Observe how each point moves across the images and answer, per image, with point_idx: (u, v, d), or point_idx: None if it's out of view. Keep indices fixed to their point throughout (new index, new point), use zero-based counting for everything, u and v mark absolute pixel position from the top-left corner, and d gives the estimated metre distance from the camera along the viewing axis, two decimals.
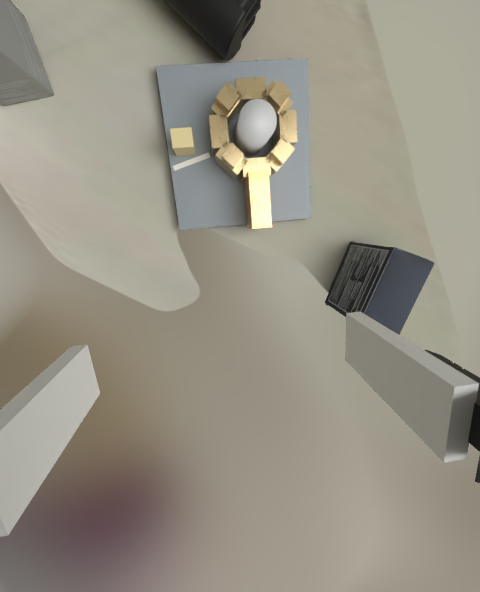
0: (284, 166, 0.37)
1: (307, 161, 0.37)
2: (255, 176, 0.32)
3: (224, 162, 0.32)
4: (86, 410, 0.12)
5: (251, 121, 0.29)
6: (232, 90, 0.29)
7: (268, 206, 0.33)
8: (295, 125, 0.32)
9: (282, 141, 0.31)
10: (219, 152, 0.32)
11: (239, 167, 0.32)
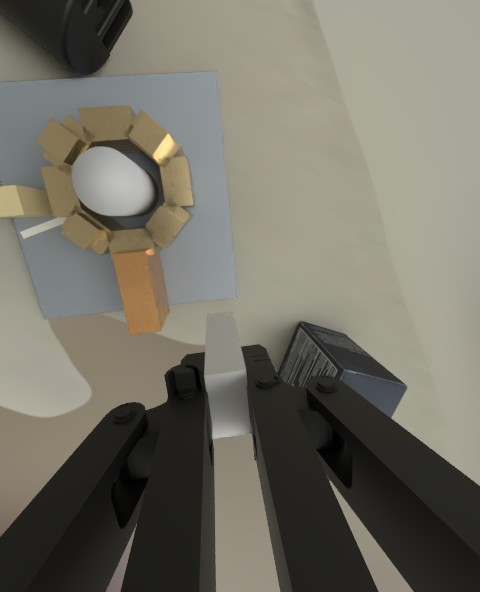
0: (193, 228, 0.25)
1: (227, 221, 0.25)
2: (125, 260, 0.20)
3: None
4: None
5: (94, 183, 0.17)
6: (64, 130, 0.17)
7: (151, 303, 0.21)
8: (187, 180, 0.20)
9: (161, 209, 0.19)
10: (66, 223, 0.20)
11: (103, 245, 0.21)
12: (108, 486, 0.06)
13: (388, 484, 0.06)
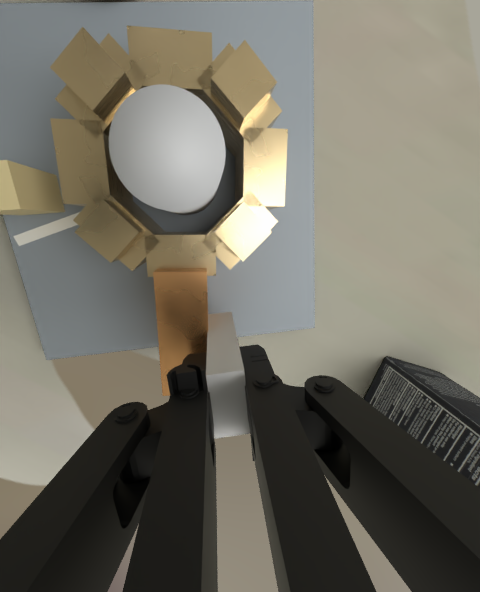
0: None
1: (309, 224, 0.18)
2: (172, 284, 0.13)
3: None
4: None
5: (148, 153, 0.10)
6: (102, 53, 0.10)
7: (203, 351, 0.14)
8: (282, 167, 0.13)
9: (244, 208, 0.12)
10: (83, 215, 0.12)
11: (137, 255, 0.13)
12: (110, 485, 0.06)
13: (386, 484, 0.06)
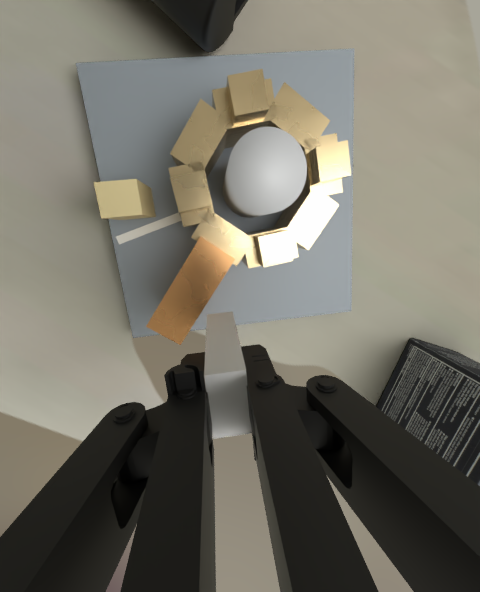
0: None
1: (348, 223, 0.22)
2: (207, 252, 0.16)
3: None
4: None
5: (254, 173, 0.14)
6: (263, 90, 0.14)
7: (196, 311, 0.17)
8: (322, 225, 0.17)
9: (286, 234, 0.16)
10: (177, 169, 0.16)
11: (194, 218, 0.16)
12: (108, 485, 0.06)
13: (388, 484, 0.06)
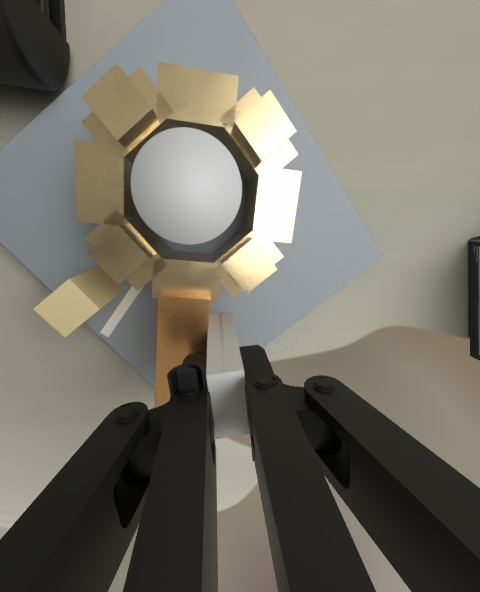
0: None
1: (325, 165, 0.17)
2: (175, 308, 0.13)
3: None
4: None
5: (173, 202, 0.10)
6: (132, 89, 0.10)
7: None
8: (293, 206, 0.13)
9: (253, 244, 0.12)
10: (95, 234, 0.13)
11: (144, 276, 0.13)
12: (110, 485, 0.06)
13: (386, 484, 0.06)
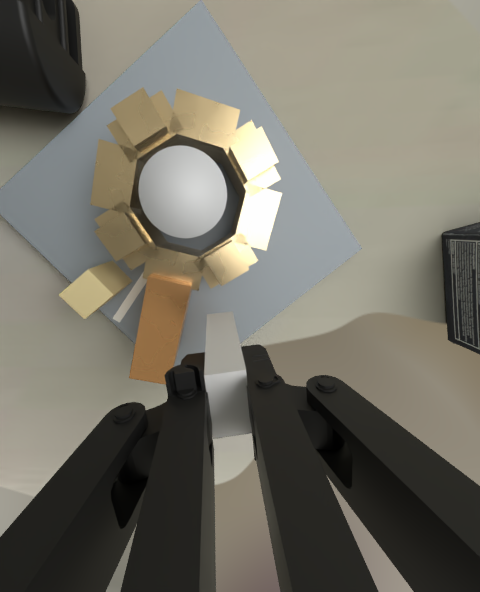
0: None
1: (306, 170, 0.19)
2: (160, 289, 0.15)
3: None
4: None
5: (172, 204, 0.13)
6: (152, 108, 0.13)
7: (172, 349, 0.16)
8: (271, 220, 0.16)
9: (232, 246, 0.15)
10: (103, 217, 0.15)
11: (139, 258, 0.16)
12: (108, 486, 0.06)
13: (388, 484, 0.06)
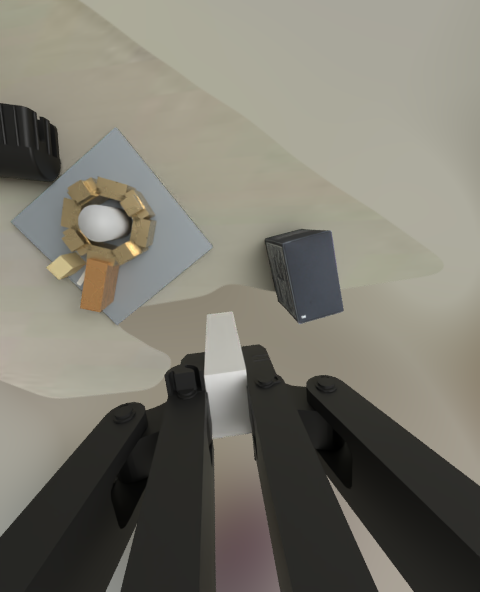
0: (160, 222, 0.38)
1: (176, 206, 0.37)
2: (93, 265, 0.33)
3: None
4: None
5: (92, 227, 0.30)
6: (84, 187, 0.31)
7: (100, 294, 0.34)
8: (146, 233, 0.34)
9: (124, 245, 0.33)
10: (66, 231, 0.33)
11: (84, 250, 0.34)
12: (108, 486, 0.06)
13: (388, 484, 0.06)
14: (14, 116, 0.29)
